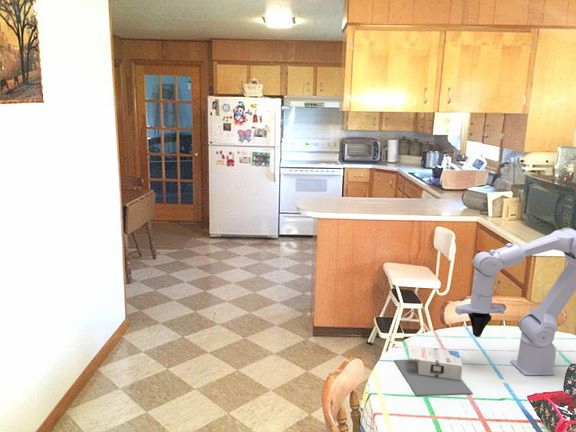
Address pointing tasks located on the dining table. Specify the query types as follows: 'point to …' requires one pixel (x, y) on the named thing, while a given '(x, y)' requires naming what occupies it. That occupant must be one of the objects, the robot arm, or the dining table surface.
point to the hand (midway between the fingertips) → (476, 335)
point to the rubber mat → (430, 381)
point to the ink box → (437, 362)
